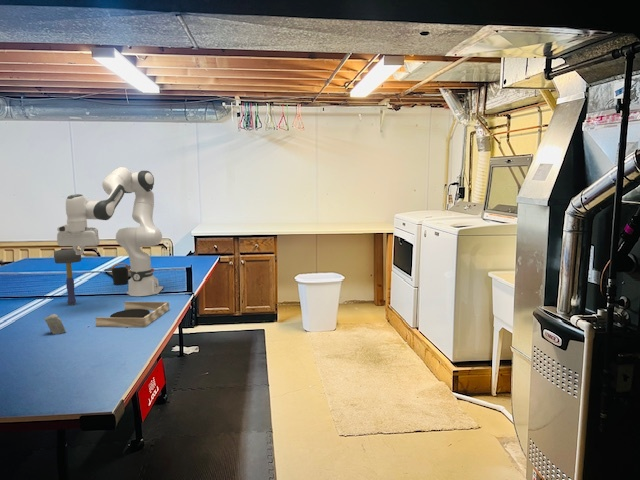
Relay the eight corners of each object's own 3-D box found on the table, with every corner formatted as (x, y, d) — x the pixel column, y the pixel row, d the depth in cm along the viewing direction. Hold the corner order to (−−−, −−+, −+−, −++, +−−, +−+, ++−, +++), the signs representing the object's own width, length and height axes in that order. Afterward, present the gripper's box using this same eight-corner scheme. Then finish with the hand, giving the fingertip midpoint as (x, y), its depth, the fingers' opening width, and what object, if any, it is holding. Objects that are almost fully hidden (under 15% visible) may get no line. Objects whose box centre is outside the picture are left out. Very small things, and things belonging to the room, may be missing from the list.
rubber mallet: (85, 301, 253) (80, 247, 249) (84, 304, 247) (80, 249, 243) (59, 304, 248) (54, 249, 244) (58, 307, 241) (53, 251, 237)
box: (125, 309, 237) (125, 301, 236) (169, 309, 235) (168, 302, 235) (95, 326, 209) (95, 317, 209) (144, 327, 208) (144, 318, 207)
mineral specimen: (59, 326, 207) (60, 310, 205) (67, 334, 202) (68, 317, 200) (41, 330, 202) (42, 313, 200) (49, 338, 196) (50, 321, 195)
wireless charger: (154, 312, 232) (154, 308, 232) (143, 323, 214) (142, 319, 214) (118, 313, 231) (118, 309, 231) (104, 324, 213) (103, 320, 213)
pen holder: (131, 282, 300) (130, 267, 298) (124, 285, 291) (123, 270, 289) (117, 282, 301) (116, 267, 299) (109, 285, 291) (108, 269, 290)
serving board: (102, 272, 334) (101, 264, 333) (135, 268, 348) (134, 260, 347) (116, 281, 304) (116, 272, 303) (152, 277, 318) (151, 268, 317)
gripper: (100, 226, 231) (102, 253, 233) (62, 226, 233) (64, 253, 234) (93, 227, 225) (96, 255, 227) (54, 228, 226) (56, 255, 228)
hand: (79, 254), depth 231 cm, fingers closed
